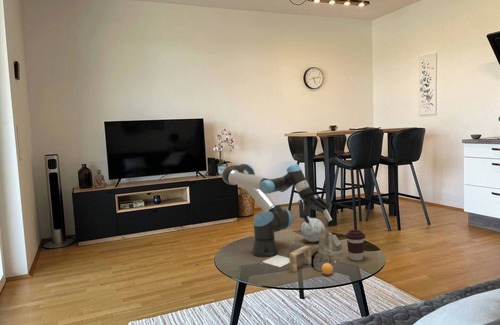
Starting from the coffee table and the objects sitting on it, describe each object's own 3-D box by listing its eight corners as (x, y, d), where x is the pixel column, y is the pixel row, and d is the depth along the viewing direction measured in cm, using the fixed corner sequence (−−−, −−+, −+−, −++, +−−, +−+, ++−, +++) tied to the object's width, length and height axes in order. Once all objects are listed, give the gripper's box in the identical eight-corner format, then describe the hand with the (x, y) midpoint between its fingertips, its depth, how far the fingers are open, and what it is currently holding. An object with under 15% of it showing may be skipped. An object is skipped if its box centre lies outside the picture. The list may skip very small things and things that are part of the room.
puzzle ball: (325, 245, 225) (324, 221, 223) (300, 245, 227) (299, 221, 226) (324, 237, 240) (323, 215, 238) (301, 237, 242) (300, 215, 241)
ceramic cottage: (334, 257, 202) (333, 230, 202) (312, 252, 216) (311, 226, 215) (352, 252, 212) (351, 226, 211) (330, 247, 225) (329, 222, 225)
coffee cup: (366, 262, 194) (365, 234, 193) (347, 261, 196) (346, 234, 195) (364, 255, 204) (364, 228, 202) (346, 255, 206) (345, 228, 204)
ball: (319, 274, 181) (319, 263, 181) (325, 271, 185) (325, 260, 185) (329, 277, 177) (328, 266, 177) (335, 273, 181) (334, 262, 181)
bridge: (289, 270, 188) (289, 253, 187) (306, 262, 199) (305, 245, 198) (294, 272, 186) (293, 254, 185) (311, 263, 197) (310, 246, 196)
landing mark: (261, 262, 203) (261, 261, 203) (277, 255, 212) (277, 255, 212) (280, 267, 194) (280, 267, 194) (295, 260, 203) (295, 259, 203)
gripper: (289, 192, 199) (307, 229, 193) (323, 181, 212) (341, 215, 206) (283, 198, 205) (300, 233, 199) (316, 187, 218) (333, 219, 212)
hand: (321, 224), depth 202 cm, fingers open, 13 cm apart
